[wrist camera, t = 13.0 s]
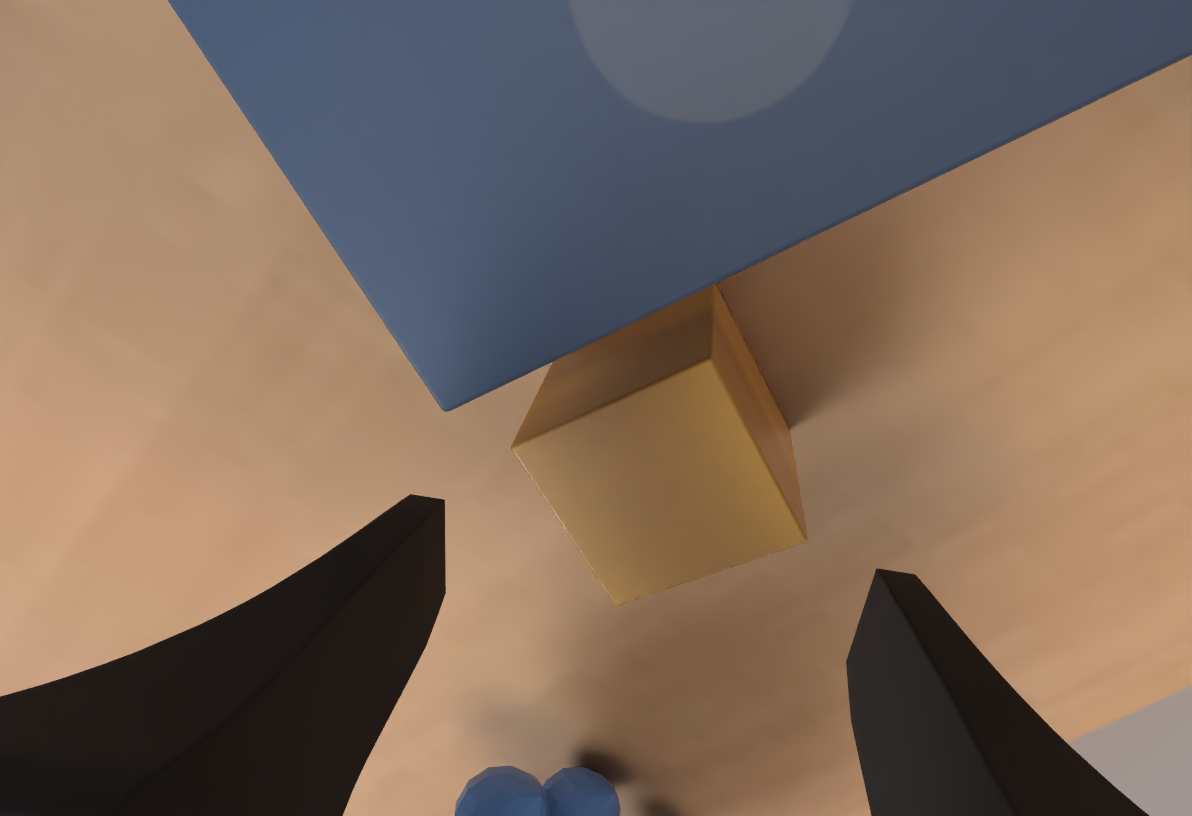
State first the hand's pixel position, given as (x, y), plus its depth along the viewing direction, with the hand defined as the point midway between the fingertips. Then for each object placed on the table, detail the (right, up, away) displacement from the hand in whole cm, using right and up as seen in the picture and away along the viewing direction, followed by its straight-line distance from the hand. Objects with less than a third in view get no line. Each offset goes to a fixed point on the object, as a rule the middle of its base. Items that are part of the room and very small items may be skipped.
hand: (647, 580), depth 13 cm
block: (+1, +3, +6) cm, 7 cm away
